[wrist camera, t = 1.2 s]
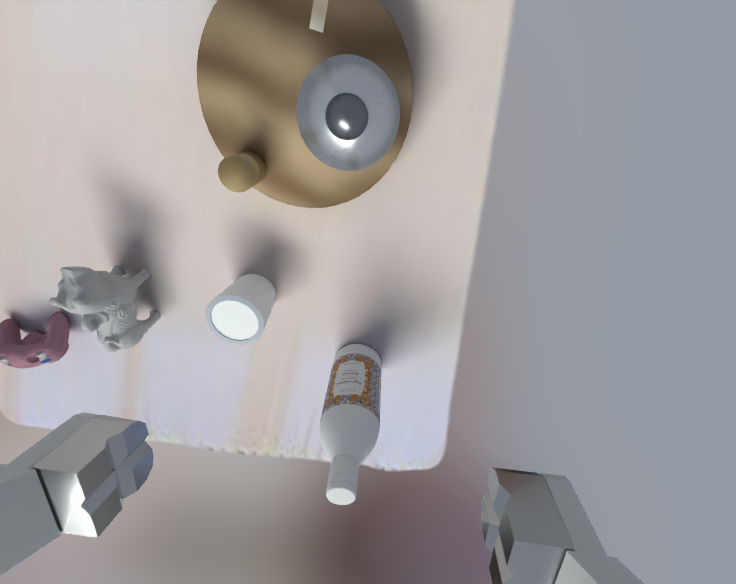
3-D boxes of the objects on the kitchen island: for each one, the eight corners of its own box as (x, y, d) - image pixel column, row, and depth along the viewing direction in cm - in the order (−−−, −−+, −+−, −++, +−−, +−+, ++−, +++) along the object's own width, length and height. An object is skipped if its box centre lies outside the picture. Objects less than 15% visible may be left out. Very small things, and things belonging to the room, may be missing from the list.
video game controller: (31, 331, 54) (5, 374, 50) (1, 316, 50) (-30, 362, 46) (88, 324, 53) (66, 368, 49) (61, 308, 49) (35, 354, 45)
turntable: (210, -72, 28) (173, -109, 23) (443, 8, 30) (453, -10, 25) (201, 174, 38) (172, 185, 33) (378, 225, 39) (376, 242, 34)
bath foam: (379, 340, 49) (373, 473, 31) (383, 378, 52) (380, 517, 35) (330, 343, 50) (298, 474, 32) (338, 380, 53) (312, 517, 35)
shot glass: (246, 258, 44) (223, 284, 38) (290, 291, 46) (275, 320, 40) (220, 293, 47) (194, 322, 41) (262, 323, 49) (244, 354, 43)
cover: (313, 44, 30) (303, 36, 27) (412, 76, 31) (415, 73, 28) (296, 150, 35) (285, 156, 31) (383, 176, 35) (382, 185, 32)
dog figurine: (142, 241, 44) (75, 278, 34) (165, 325, 50) (113, 377, 41) (101, 238, 44) (23, 274, 35) (129, 323, 50) (69, 373, 41)
